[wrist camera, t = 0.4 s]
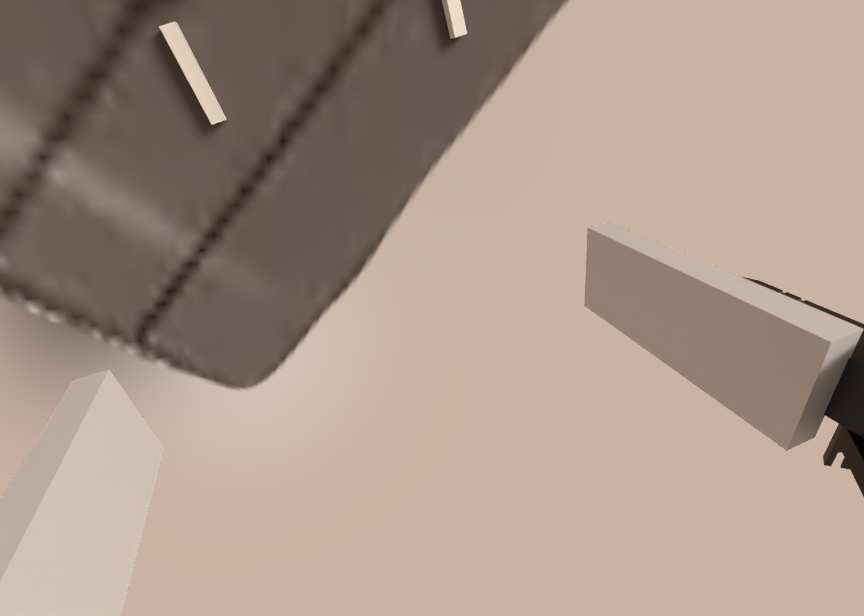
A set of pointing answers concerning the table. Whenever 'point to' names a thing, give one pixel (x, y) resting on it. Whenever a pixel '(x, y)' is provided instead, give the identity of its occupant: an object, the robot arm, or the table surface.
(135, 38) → the table surface
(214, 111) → the strips
